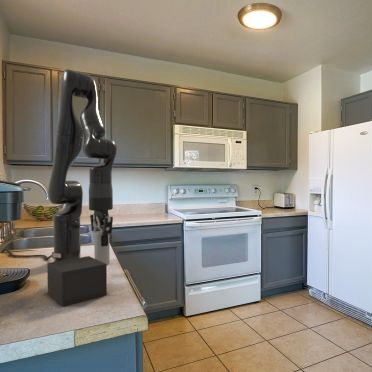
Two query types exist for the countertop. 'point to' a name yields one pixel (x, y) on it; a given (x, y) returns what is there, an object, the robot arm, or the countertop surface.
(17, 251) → the countertop surface
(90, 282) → the dark grey lidded box
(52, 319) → the countertop surface
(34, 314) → the countertop surface
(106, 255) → the beverage can
